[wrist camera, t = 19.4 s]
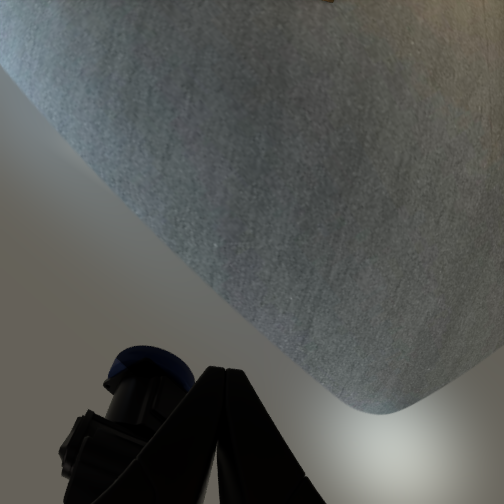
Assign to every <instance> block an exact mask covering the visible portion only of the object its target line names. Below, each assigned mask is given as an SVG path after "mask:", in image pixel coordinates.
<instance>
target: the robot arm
mask: <svg viewBox="0 0 504 504" xmlns="http://www.w3.org/2000/svg"><path fill="white" fill-rule="evenodd" d="M146 363H148V364H146ZM103 386H104V387H105V388H106V389H107V390H108V391H109V392H110V393H111V394H113V395H114V396H113V399H112V401H111V404H110V406H109V409H108V411H107V414H106V416H105V418H104V417H101V416H99V415H97V414H95V413H94V412H93V411H91V410H89V409H88V411H87V413H86V414H85V416H84V415H83V416H82V417H78V418H77V420H76V422H75V424H74V426H73V428H72V430H71V432H70V434H69V436H68V437H67V438H66V440H65V441H64V443H63V444H62V445H61V447H60V450H59V455H60V458H61V460H62V467H63V469H62V476H63V477H65V478H67V479H69V483H68V486H67V489H66V492H65V496H64V500H63V502H64V504H203V502H204V498H205V494H206V490H207V485H208V482H209V477H210V473H211V469H212V465H213V461H214V456H215V452H216V446H217V467H218V484H219V499H220V504H326V503H325V501H324V500H323V499H322V497H321V496H320V494H319V493H318V492H317V490H316V489H315V487H314V486H313V484H312V483H311V481H310V480H309V478H308V477H307V476H305V472H304V471H303V469H302V468H301V466H300V465H299V463H298V461H297V460H296V458H295V457H294V455H293V453H292V452H291V450H290V449H289V447H288V445H287V444H286V442H285V441H284V439H283V437H282V436H281V434H280V432H279V431H278V429H277V427H276V426H275V424H274V422H273V421H272V419H271V417H270V416H269V414H268V413H267V411H266V409H265V407H264V406H263V404H262V402H261V401H260V399H259V397H258V395H257V394H256V392H255V390H254V389H253V387H252V385H251V383H250V382H249V380H248V378H247V376H246V375H245V373H244V371H243V370H239V369H231V368H228V369H226V371H225V369H224V368H223V367H216V366H209V367H207V368H206V370H205V371H204V372H203V374H202V375H201V376H200V377H199V379H198V380H197V381H196V383H195V384H194V385H193V386H192V388H191V389H190V390H189V392H187V391H186V390H185V389H184V388H183V387H182V386H180V385H179V384H178V383H177V382H176V381H175V380H173V379H172V378H171V377H170V376H169V375H168V374H167V373H166V372H164V371H163V370H162V369H161V368H160V367H159V366H158V365H157V364H156V363H155V362H153V361H152V360H151V359H150V358H147V357H145V358H142V359H141V360H139V361H137V362H136V363H134V364H132V365H131V366H129V367H127V368H125V369H124V370H122V371H120V372H119V373H117V374H115V375H113V376H112V377H110V378H108V379H106V380H105V381H104V383H103ZM304 476H305V477H304Z"/></svg>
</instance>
